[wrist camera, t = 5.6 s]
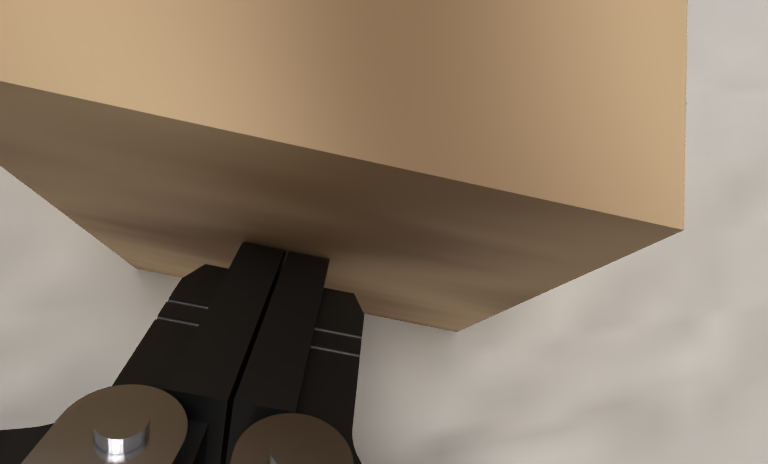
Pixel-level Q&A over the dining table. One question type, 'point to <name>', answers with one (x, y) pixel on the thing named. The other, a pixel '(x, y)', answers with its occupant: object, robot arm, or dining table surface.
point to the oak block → (357, 137)
